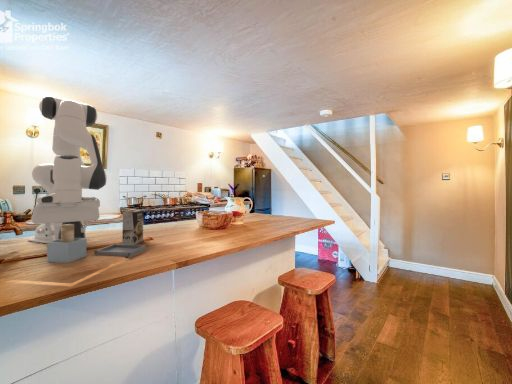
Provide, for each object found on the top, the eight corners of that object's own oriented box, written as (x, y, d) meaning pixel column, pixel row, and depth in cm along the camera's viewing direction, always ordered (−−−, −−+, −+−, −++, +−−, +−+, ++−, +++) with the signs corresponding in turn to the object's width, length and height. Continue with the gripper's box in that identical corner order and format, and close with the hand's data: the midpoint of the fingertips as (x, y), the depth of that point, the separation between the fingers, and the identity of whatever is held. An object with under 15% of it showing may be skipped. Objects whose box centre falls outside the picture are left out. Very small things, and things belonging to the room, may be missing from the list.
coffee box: (134, 245, 119) (135, 212, 118) (121, 244, 119) (122, 211, 119) (143, 240, 128) (144, 210, 128) (131, 240, 128) (131, 209, 128)
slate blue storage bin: (47, 263, 90) (47, 242, 89) (67, 256, 98) (67, 237, 98) (68, 264, 89) (68, 243, 89) (86, 258, 97) (86, 238, 97)
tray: (94, 256, 100) (94, 250, 100) (114, 248, 112) (114, 243, 112) (129, 258, 98) (129, 252, 98) (145, 250, 110) (145, 245, 110)
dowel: (58, 259, 92) (58, 225, 91) (67, 256, 96) (67, 223, 95) (67, 260, 91) (67, 226, 91) (76, 257, 95) (76, 224, 95)
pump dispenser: (70, 253, 102) (70, 217, 102) (50, 251, 104) (50, 216, 104) (91, 247, 112) (91, 215, 112) (73, 246, 114) (73, 213, 114)
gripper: (98, 196, 102) (98, 229, 102) (32, 197, 89) (32, 235, 89) (101, 197, 97) (101, 232, 97) (31, 198, 84) (31, 238, 84)
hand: (67, 233), depth 93 cm, fingers open, 8 cm apart
